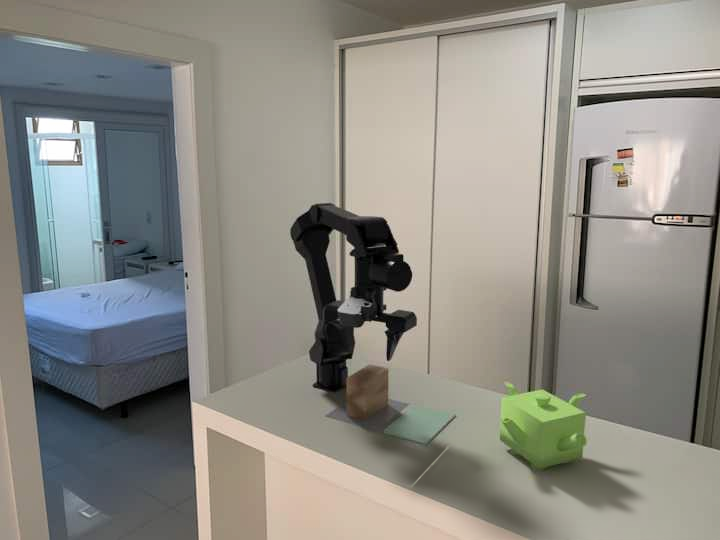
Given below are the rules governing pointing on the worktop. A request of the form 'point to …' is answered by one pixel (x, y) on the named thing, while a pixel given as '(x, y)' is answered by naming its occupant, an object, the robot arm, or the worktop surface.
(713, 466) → the worktop surface
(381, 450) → the worktop surface
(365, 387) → the walnut block
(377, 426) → the plate
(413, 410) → the green mat
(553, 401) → the green knobbed block
